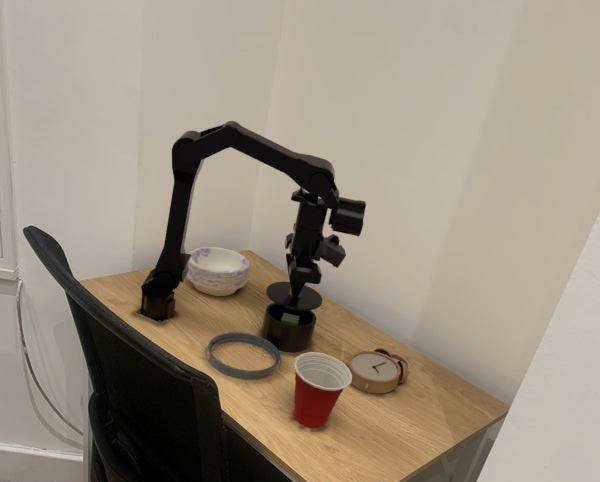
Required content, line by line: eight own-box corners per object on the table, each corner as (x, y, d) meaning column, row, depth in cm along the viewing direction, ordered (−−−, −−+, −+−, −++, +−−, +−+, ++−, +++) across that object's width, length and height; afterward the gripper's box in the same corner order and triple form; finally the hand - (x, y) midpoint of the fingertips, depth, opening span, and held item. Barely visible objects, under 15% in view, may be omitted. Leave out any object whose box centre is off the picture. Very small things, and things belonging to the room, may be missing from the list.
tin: (251, 341, 141) (256, 313, 137) (275, 323, 150) (280, 296, 146) (296, 360, 138) (303, 332, 134) (317, 341, 147) (324, 314, 143)
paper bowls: (193, 268, 165) (196, 240, 161) (250, 283, 165) (255, 254, 161) (175, 293, 152) (178, 262, 148) (237, 308, 152) (242, 278, 148)
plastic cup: (313, 447, 115) (328, 393, 109) (270, 416, 120) (281, 362, 114) (349, 425, 123) (365, 373, 116) (307, 397, 128) (319, 345, 121)
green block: (276, 341, 142) (281, 319, 139) (279, 333, 145) (283, 312, 142) (292, 345, 142) (297, 323, 139) (294, 337, 145) (299, 316, 142)
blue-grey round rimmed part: (192, 362, 130) (193, 351, 129) (230, 334, 142) (232, 324, 140) (256, 391, 126) (258, 380, 125) (290, 360, 138) (292, 350, 137)
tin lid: (255, 298, 135) (259, 278, 133) (281, 280, 145) (285, 261, 142) (306, 319, 132) (311, 299, 129) (330, 299, 142) (334, 280, 139)
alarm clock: (336, 359, 136) (387, 336, 144) (334, 377, 139) (384, 353, 147) (372, 388, 130) (424, 362, 137) (369, 406, 133) (419, 380, 140)
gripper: (354, 249, 123) (336, 320, 132) (342, 215, 138) (326, 280, 147) (297, 240, 121) (282, 313, 130) (291, 206, 136) (278, 273, 145)
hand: (294, 294), depth 138 cm, fingers closed on tin lid, 2 cm apart
